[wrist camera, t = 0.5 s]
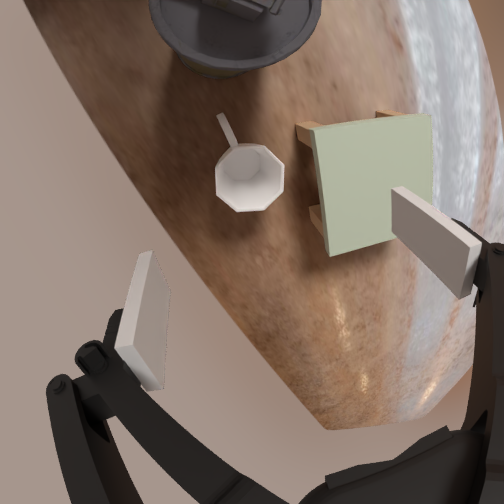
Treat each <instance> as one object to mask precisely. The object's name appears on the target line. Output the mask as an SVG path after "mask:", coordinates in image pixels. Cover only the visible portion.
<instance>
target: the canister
mask: <svg viewBox="0 0 504 504" xmlns="http://www.w3.org/2000/svg"><path fill="white" fill-rule="evenodd" d="M321 2H322V0H149V10H150V14H151V18H152V21H153V23H154V26H155V28H156V30H157V31H158V33H159V34H160V36H161V37H162V39H163V40H164V41H165V42H166V43H167V44H168V45H169V46H170V47H171V48H172V49H173V50H175V51H176V53H177V55H178V57H179V58H180V60H181V61H182V62H183V64H184V65H185V66H186V67H188V68H189V69H190V70H192V71H193V72H195V73H197V74H199V75H202V76H205V77H209V78H215V79H225V78H231V77H235V76H238V75H240V74H243V73H245V72H247V71H248V70H252V69H257V68H263V67H266V66H269V65H272V64H275V63H277V62H279V61H281V60H283V59H285V58H287V57H288V56H290V55H291V54H293V53H294V52H296V51H297V50H298V49H299V48H300V47H301V46H302V45H303V44H304V43H305V42H306V41H307V40H308V39H309V38H310V36H311V35H312V33H313V32H314V30H315V27H316V25H317V22H318V20H319V18H320V15H321Z"/></svg>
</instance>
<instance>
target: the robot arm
mask: <svg viewBox="0 0 504 504" xmlns="http://www.w3.org/2000/svg"><path fill="white" fill-rule="evenodd" d="M391 206H392V228H391V232H392V233H393V234H394V235H395V236H397V237H398V238H399V239H400V240H401V241H402V242H403V243H404V244H405V245H406V246H407V247H408V248H409V249H410V250H411V251H412V252H413V253H414V254H415V255H416V256H417V257H418V258H419V259H420V260H421V261H422V262H423V263H424V264H425V265H426V266H427V267H428V268H429V269H430V270H431V271H432V272H433V273H434V274H435V275H436V276H437V277H438V278H439V279H440V280H441V281H442V282H443V283H444V284H445V285H446V286H447V287H448V288H449V289H450V290H451V292H452V293H453V294H454V295H455V296H456V297H457V298H458V299H461V298H463V297H466V296H468V295H470V294H471V290H472V286H473V283H474V284H475V285H476V286H477V287H478V290H477V294H476V297H475V301H474V304H473V307H475V305H476V332H475V348H474V360H473V370H472V379H471V387H470V394H469V400H468V406H467V412H466V417H465V420H464V423H463V425H462V428H461V430H454V431H449V429H448V427H447V426H444V427H442V428H440V429H438V430H437V431H435V432H433V433H431V434H429V435H427V436H425V437H423V438H421V439H419V440H418V441H417V442H416V443H415V444H413V445H412V446H411V447H409V448H408V449H407V450H406V451H404V452H403V453H402V454H400V455H399V456H398V457H396V458H395V459H393V460H389V461H383V462H376V463H370V464H362V465H357V466H354V467H351V468H348V469H345V470H342V471H339V472H336V473H333V474H329V475H326V476H325V483H322V484H321V485H319V486H317V487H316V488H315V489H313V490H312V491H311V492H309V493H308V494H307V495H306V496H305V497H304V498H303V499H302V500H301V501H300V503H299V504H504V244H501V243H491V244H490V243H488V242H487V241H486V240H484V239H483V238H482V237H481V236H479V235H478V234H477V233H475V232H473V230H471V229H470V228H468V227H467V226H466V225H465V224H463V223H462V222H460V221H458V220H455V219H453V218H451V219H450V218H449V217H447V216H446V215H445V214H443V213H442V212H440V211H439V210H437V209H436V208H435V207H433V206H432V205H430V204H429V203H427V202H426V201H424V200H423V199H421V198H420V197H418V196H417V195H415V194H414V193H412V192H411V191H409V190H408V189H406V188H405V187H403V186H400V187H395V188H391ZM170 294H171V291H170V288H169V286H168V284H167V282H166V280H165V277H164V275H163V273H162V270H161V268H160V266H159V264H158V261H157V259H156V256H155V254H154V252H153V250H150V251H146V252H142V253H140V254H139V256H138V259H137V263H136V266H135V270H134V273H133V276H132V280H131V284H130V288H129V291H128V294H127V298H126V302H125V306H124V308H123V309H118V310H115V311H114V313H113V314H112V316H111V317H110V319H109V322H108V325H107V329H106V332H105V336H104V340H103V343H102V342H100V341H98V340H93V341H89V342H87V343H85V344H84V345H82V346H81V347H80V348H79V349H78V351H77V353H76V355H75V362H76V364H77V366H78V367H79V368H80V369H81V370H82V372H83V373H84V374H85V375H83V376H81V377H79V378H76V379H74V380H72V379H71V378H70V377H69V376H68V375H66V374H60V375H58V376H56V377H54V378H53V379H52V380H51V381H50V382H49V384H48V386H47V388H46V396H47V403H48V410H49V416H50V421H51V427H52V432H53V437H54V442H55V446H56V451H57V455H58V458H59V462H60V466H61V470H62V474H63V478H64V481H65V484H66V488H67V491H68V494H69V497H70V500H71V503H72V504H143V502H142V500H141V498H140V496H139V494H138V492H137V490H136V488H135V486H134V484H133V482H132V480H131V478H130V476H129V473H128V471H127V469H126V467H125V464H124V462H123V460H122V458H121V456H120V453H119V451H118V448H117V446H116V443H115V441H114V438H113V436H112V434H111V431H110V428H109V426H108V423H107V420H106V419H108V418H111V417H113V416H117V418H118V419H119V420H120V421H121V423H122V424H123V425H124V426H125V427H126V429H127V430H128V431H129V432H130V433H131V435H132V436H133V437H134V438H135V439H136V440H137V442H139V444H140V445H141V446H142V447H143V448H144V449H145V450H146V452H147V453H148V454H149V455H150V456H151V457H152V458H153V459H154V460H155V461H156V462H157V463H158V464H159V465H160V466H161V467H162V468H163V469H164V470H165V471H166V473H167V474H169V475H170V476H171V477H172V478H173V479H174V480H175V481H176V482H177V483H178V484H179V485H180V486H181V487H182V488H183V489H184V490H185V491H186V492H187V493H188V494H190V495H191V496H192V497H193V498H194V499H195V500H196V501H197V502H198V503H200V504H289V503H287V502H286V501H284V500H283V499H281V498H279V497H278V496H276V495H275V494H273V493H271V492H270V491H268V490H267V489H265V488H264V487H262V486H261V485H259V484H258V483H256V482H255V481H254V480H252V479H250V478H249V477H247V476H245V475H243V474H241V473H239V472H238V471H236V470H235V469H234V468H233V467H231V466H230V465H229V464H227V463H226V462H225V461H223V460H222V459H221V458H219V457H218V456H217V455H216V454H214V453H213V452H212V451H210V450H209V449H208V448H207V447H206V446H204V445H203V444H202V443H201V442H199V441H198V440H197V439H196V438H195V437H193V436H192V435H191V434H190V433H189V432H188V431H186V429H184V428H183V427H182V426H181V425H180V424H179V423H177V422H176V421H175V420H174V419H173V418H172V417H171V416H170V415H169V414H168V413H166V412H165V411H164V410H163V409H162V408H161V407H160V406H159V405H158V404H157V403H156V402H155V401H154V400H153V399H152V398H151V397H150V396H149V395H148V394H147V393H146V392H145V391H144V390H143V389H142V388H141V387H140V386H141V385H142V386H143V387H144V388H145V390H146V391H154V390H161V389H164V375H165V356H166V341H167V328H168V315H169V304H170Z"/></svg>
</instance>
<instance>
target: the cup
mask: <svg viewBox="0 0 504 504" xmlns="http://www.w3.org/2000/svg"><path fill="white" fill-rule="evenodd" d="M216 116H217V119H218V121H219V123H220V125H221V127H222V129H223V131H224V133H225V136H226V138H227V140H228V142H229V144H230V148H229V149H228V150H227V151H226V152H225V153H224V154H223V156H222V157H221V158H220V159H219V161H218V163H217V165H216V167H215V179H216V195H217V196H218V197H219V198H220V199H222V200H223V201H224V202H225V203H226V204H228V205H229V206H230V207H231V208H232V209H234V210H235V211H236V212H247V211H263V210H265V209H266V208H267V207H268V206H269V205H270V204H271V203H272V202H273V201H274V200H275V199H276V198H277V197H278V196H279V195H280V194H281V193H282V192H283V189H284V164H283V163H282V162H281V161H280V160H279V159H278V158H277V157H276V156H275V155H274V154H273V153H272V152H271V151H270V150H269V149H267V148H266V147H265V146H264V145H258V144H254V143H251V144H248V143H243V144H238V142H237V140H236V138H235V136H234V133H233V131H232V129H231V127H230V125H229V123H228V121H227V119H226V117H225V115H224V113H223V112H222V113H220V114H218V115H216Z"/></svg>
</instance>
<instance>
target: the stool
mask: <svg viewBox="0 0 504 504" xmlns="http://www.w3.org/2000/svg"><path fill="white" fill-rule="evenodd" d="M376 117H377V118H372V119H364V120H357V121H350V122H343V123H337V124H331V125H325V126H324V125H321V124H318V123H316V122H313V121H307V122H301V123H296V124H295V126H296V132H297V137H298V140H300V141H301V142H303V143H304V144H306V145H308V146H309V147H311V148H312V150H313V156H314V163H315V170H316V177H317V184H318V191H319V199H320V204H317V205H313V206H309V212H310V220H311V221H312V223H313V224H314V225H315V227H316V228H317V230H318V231H319V232H320V234H321V235H322V236H323V238H324V241H325V250H326V252H327V253H328V255H329V256H330V257H331V256H335V255H339V254H342V253H346V252H349V251H353V250H356V249H360V248H363V247H367V246H370V245H374V244H377V243H381V242H384V241H388V240H391V239H394V238H398V237H397V236H395V235H394V234H393V233H392V232H391V228H392V206H391V188H395V187H400V186H403V187H405V188H406V189H408V190H409V191H411V192H412V193H414V194H415V195H417V196H418V197H420V198H421V199H423V200H424V201H426V202H427V203H429V204H430V205H432V193H433V140H432V119H431V115H428V114H424V113H421V114H410V115H407V114H403V113H399V112H395V111H391V110H383V111H376Z"/></svg>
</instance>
